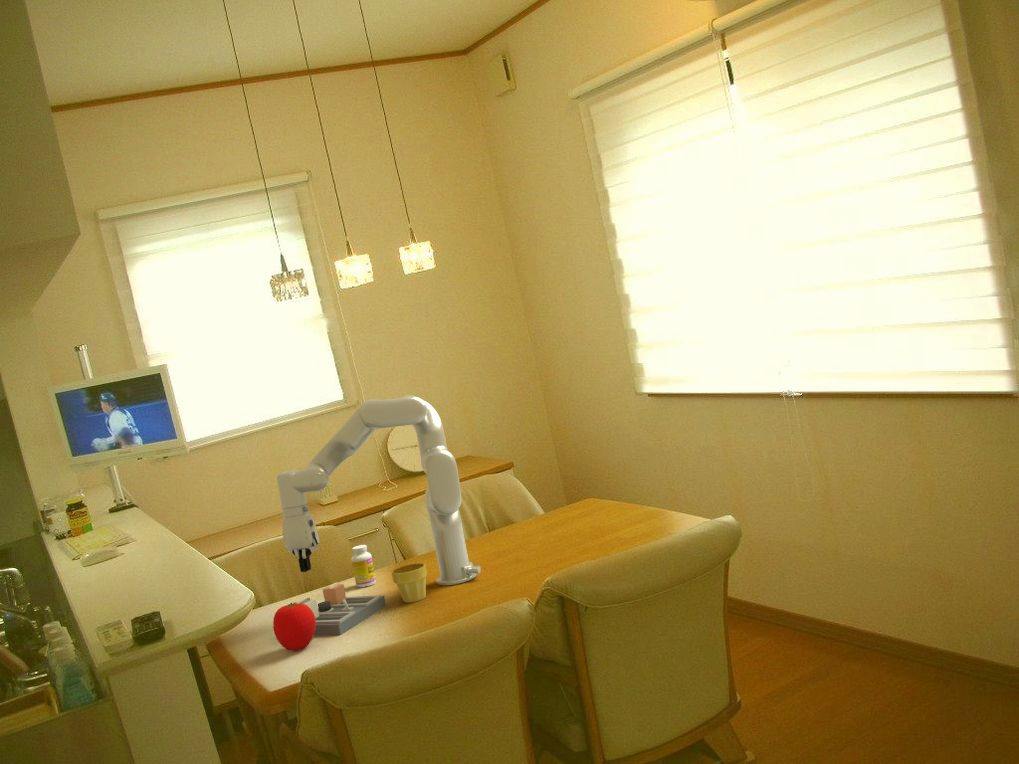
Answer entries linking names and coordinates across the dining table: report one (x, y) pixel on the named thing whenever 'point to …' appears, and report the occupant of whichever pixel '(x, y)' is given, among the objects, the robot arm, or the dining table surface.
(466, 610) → the dining table surface
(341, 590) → the salmon pink block
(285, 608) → the tomato
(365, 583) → the supplement bottle
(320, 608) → the black button
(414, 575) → the plant pot
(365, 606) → the grey slotted tray
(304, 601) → the cream slider
